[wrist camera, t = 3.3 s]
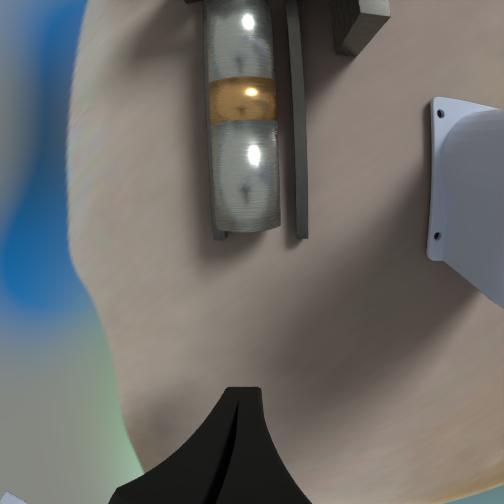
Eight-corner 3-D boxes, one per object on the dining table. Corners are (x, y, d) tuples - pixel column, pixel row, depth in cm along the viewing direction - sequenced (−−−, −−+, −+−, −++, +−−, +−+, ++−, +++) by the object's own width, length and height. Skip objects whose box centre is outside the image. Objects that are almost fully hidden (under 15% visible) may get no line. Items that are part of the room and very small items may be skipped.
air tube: (289, 219, 17) (267, 234, 14) (233, 216, 18) (204, 230, 15) (278, 3, 13) (255, -21, 11) (224, 14, 15) (194, -5, 12)
